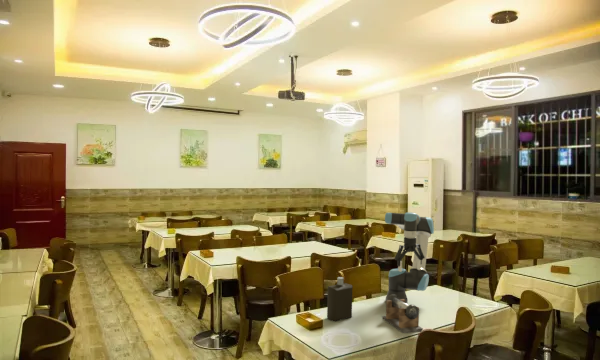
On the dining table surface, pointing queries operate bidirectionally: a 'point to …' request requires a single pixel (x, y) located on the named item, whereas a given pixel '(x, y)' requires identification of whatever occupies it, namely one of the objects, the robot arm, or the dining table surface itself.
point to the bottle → (339, 301)
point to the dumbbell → (404, 306)
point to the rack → (400, 319)
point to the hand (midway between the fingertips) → (409, 270)
